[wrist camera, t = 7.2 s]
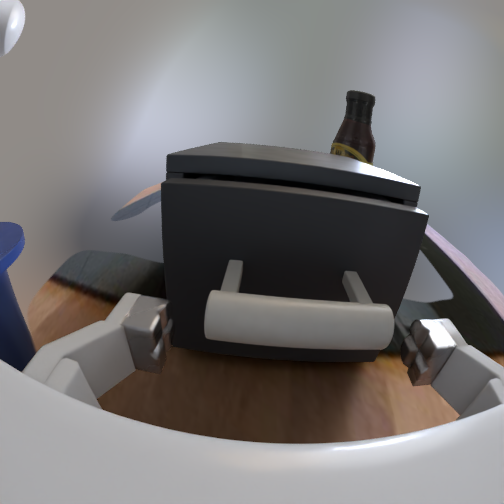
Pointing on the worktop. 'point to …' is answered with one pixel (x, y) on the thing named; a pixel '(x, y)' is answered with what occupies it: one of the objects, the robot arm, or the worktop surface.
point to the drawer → (285, 267)
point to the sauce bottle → (356, 129)
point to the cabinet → (290, 168)
